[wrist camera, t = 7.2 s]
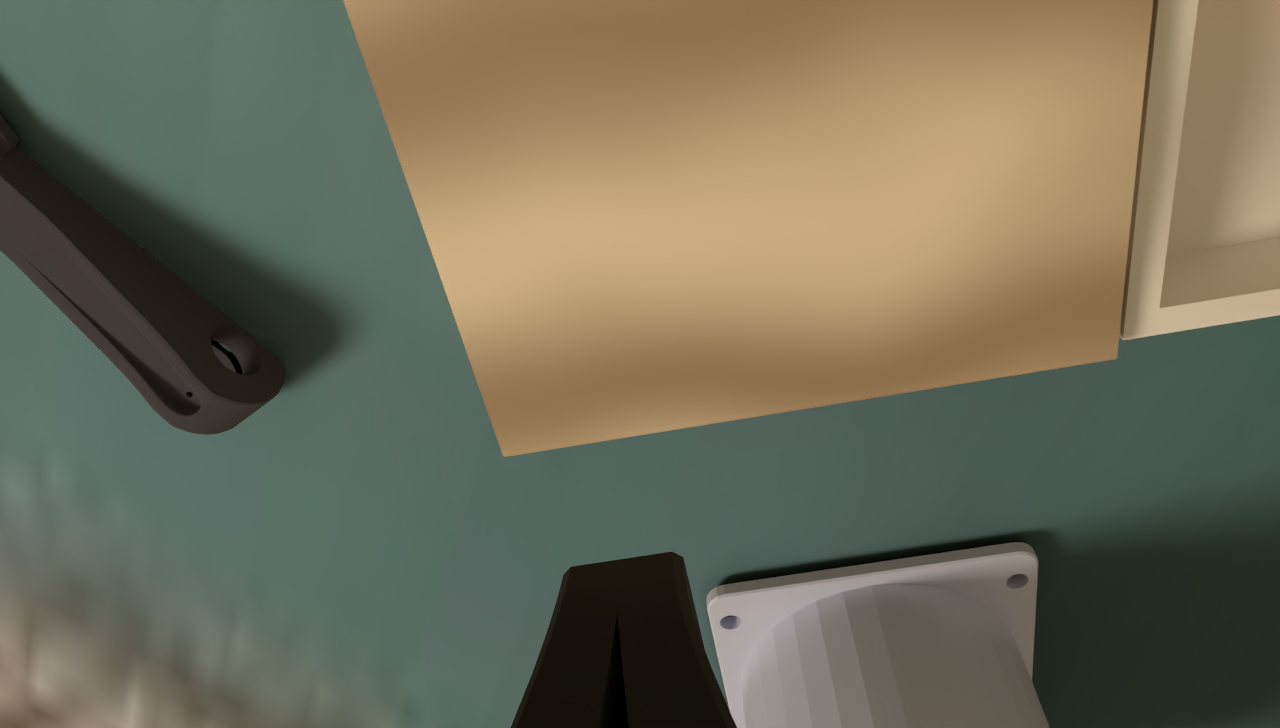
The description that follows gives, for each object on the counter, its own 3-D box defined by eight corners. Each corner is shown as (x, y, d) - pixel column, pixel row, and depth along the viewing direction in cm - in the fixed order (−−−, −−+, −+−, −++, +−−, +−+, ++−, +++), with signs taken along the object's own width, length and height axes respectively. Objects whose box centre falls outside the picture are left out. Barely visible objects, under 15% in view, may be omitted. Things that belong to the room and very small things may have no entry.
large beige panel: (1068, 285, 21) (1117, 358, 19) (512, 378, 22) (503, 456, 20) (1129, -657, 13) (1224, -700, 11) (246, -443, 14) (186, -448, 12)
